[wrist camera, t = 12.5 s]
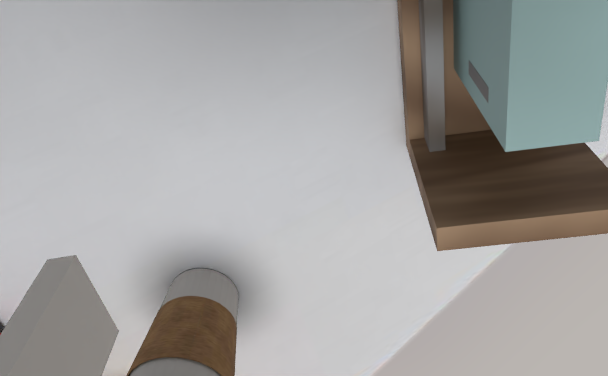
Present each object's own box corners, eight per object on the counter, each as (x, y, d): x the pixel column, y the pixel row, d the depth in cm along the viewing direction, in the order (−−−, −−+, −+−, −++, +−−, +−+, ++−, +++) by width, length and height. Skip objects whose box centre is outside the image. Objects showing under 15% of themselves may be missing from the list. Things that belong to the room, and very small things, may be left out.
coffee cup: (245, 253, 44) (215, 415, 31) (259, 326, 49) (238, 494, 36) (145, 258, 45) (75, 420, 32) (168, 330, 49) (115, 498, 36)
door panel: (451, -114, 28) (516, -98, 19) (531, -128, 28) (637, -119, 18) (453, 68, 33) (505, 152, 24) (520, 59, 33) (599, 140, 24)
